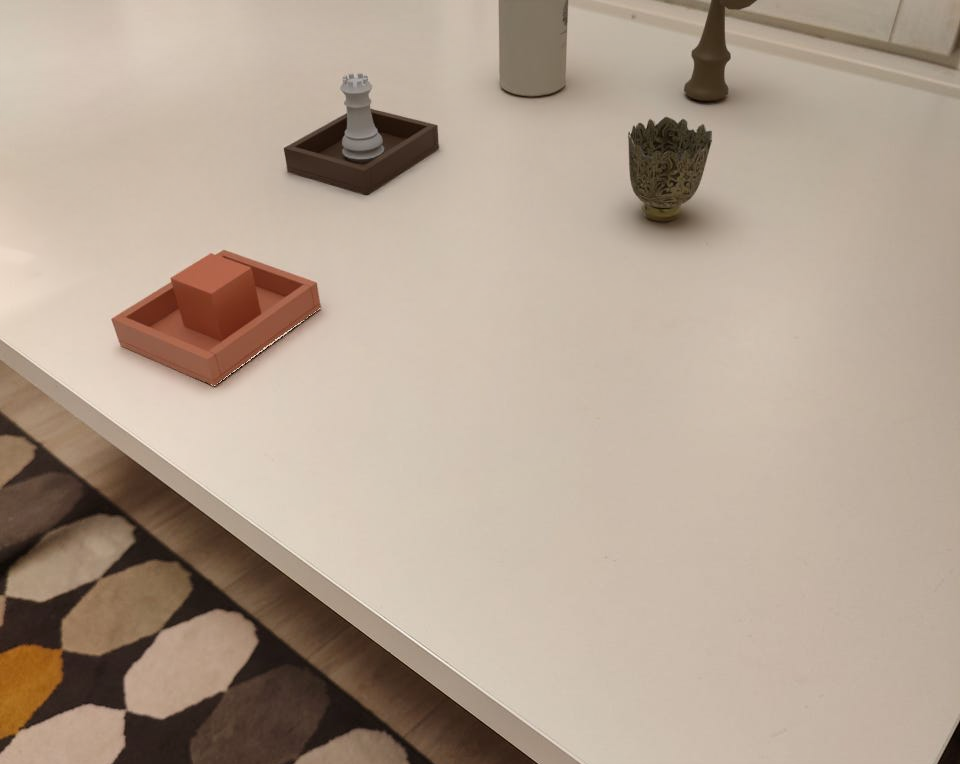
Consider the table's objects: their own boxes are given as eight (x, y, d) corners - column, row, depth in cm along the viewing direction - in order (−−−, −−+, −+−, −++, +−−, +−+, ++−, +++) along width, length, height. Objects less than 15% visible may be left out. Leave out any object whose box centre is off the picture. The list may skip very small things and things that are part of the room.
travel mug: (490, 94, 113) (487, -76, 100) (510, 70, 118) (510, -94, 106) (555, 101, 111) (560, -72, 98) (572, 76, 116) (579, -91, 104)
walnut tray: (367, 195, 95) (364, 170, 93) (287, 171, 99) (283, 147, 97) (439, 148, 102) (437, 124, 100) (362, 128, 106) (359, 105, 105)
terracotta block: (223, 342, 75) (211, 293, 72) (183, 326, 77) (169, 277, 74) (262, 315, 78) (251, 267, 75) (222, 300, 80) (210, 252, 77)
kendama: (702, 115, 107) (729, -86, 93) (663, 85, 114) (684, -107, 100) (749, 107, 108) (783, -93, 94) (708, 78, 115) (734, -113, 101)
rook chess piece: (359, 142, 102) (350, 66, 97) (393, 150, 101) (386, 73, 95) (334, 158, 100) (323, 81, 94) (368, 167, 98) (359, 88, 92)
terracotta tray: (214, 387, 72) (207, 359, 70) (120, 345, 76) (110, 318, 75) (321, 309, 80) (317, 282, 78) (229, 275, 84) (223, 249, 82)
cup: (605, 216, 90) (611, 134, 85) (653, 190, 94) (662, 109, 88) (668, 242, 86) (679, 158, 81) (716, 214, 90) (729, 131, 84)
